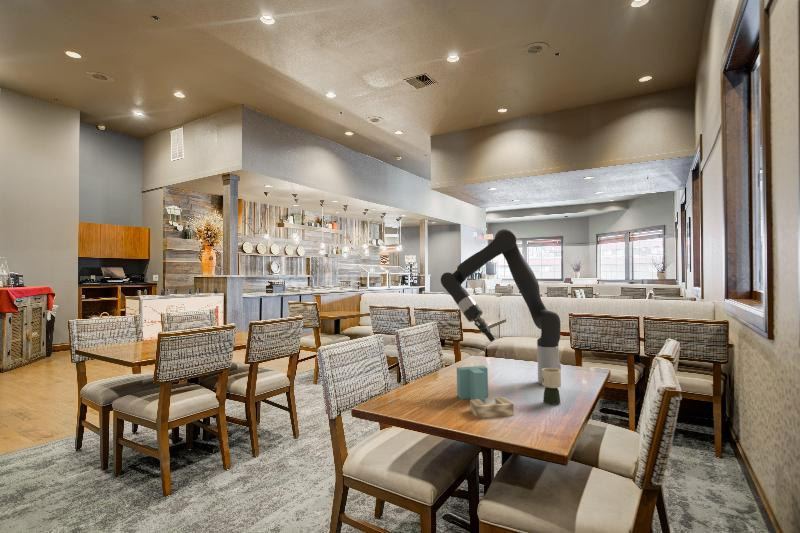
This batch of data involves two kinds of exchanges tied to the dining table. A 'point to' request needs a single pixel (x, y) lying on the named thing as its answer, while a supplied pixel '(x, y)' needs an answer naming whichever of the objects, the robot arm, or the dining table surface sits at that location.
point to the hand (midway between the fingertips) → (492, 340)
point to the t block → (472, 382)
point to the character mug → (551, 385)
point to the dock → (492, 408)
